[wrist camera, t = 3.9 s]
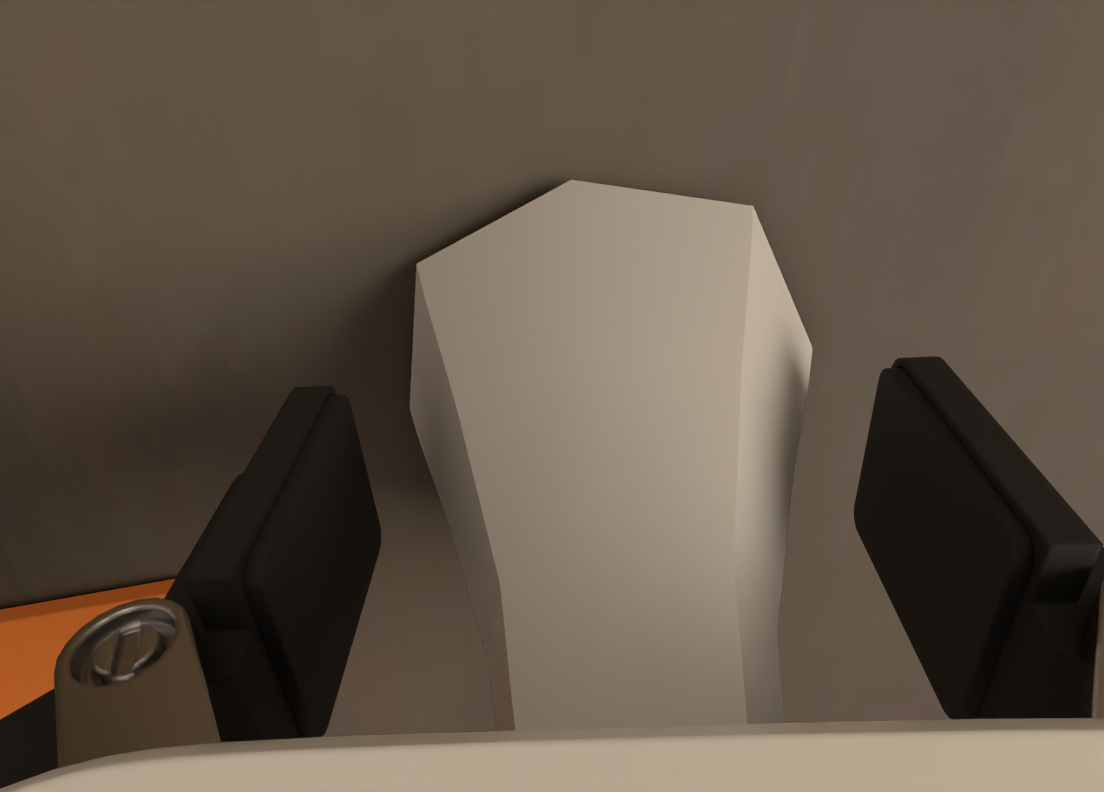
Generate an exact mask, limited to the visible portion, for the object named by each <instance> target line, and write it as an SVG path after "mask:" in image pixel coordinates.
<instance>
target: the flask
mask: <svg viewBox="0 0 1104 792" xmlns="http://www.w3.org/2000/svg"><path fill="white" fill-rule="evenodd" d="M811 358H812V346H811V343H810V341H809V338H808V336H807V334H806V331H805V329H804V326H803V324H802V322H801V319H800V317H799V315H798V312H797V310H796V307H795V305H794V303H793V300H792V298H791V295H790V293H789V291H788V288H787V286H786V283H785V281H784V279H783V276H782V274H781V272H780V269H779V267H778V264H777V262H776V260H775V257H774V255H773V252H772V250H771V248H770V245H769V243H768V240H767V238H766V236H765V233H764V231H763V228H762V226H761V224H760V221H759V219H758V217H757V214H756V212H755V209H754V207H753V206H750V205H743V204H736V203H729V202H722V201H715V200H708V199H701V198H694V197H687V196H680V195H673V194H667V193H660V192H653V191H646V190H639V189H632V188H625V187H618V186H611V185H604V184H597V183H590V182H583V181H576V180H570V181H568V182H566V183H564V184H562V185H561V186H559V187H557V188H555V189H553V190H551V191H550V192H548V193H546V194H544V195H542V196H540V197H539V198H537V199H535V200H533V201H531V202H529V203H527V204H526V205H524V206H522V207H520V208H518V209H516V210H515V211H513V212H511V213H509V214H507V215H505V216H504V217H502V218H500V219H498V220H496V221H494V222H492V223H491V224H489V225H487V226H485V227H483V228H481V229H480V230H478V231H476V232H474V233H472V234H470V235H469V236H467V237H465V238H463V239H461V240H459V241H457V242H456V243H454V244H452V245H450V246H448V247H446V248H445V249H443V250H441V251H439V252H437V253H435V254H434V255H432V256H430V257H428V258H426V259H424V260H422V261H421V262H419V263H417V264H416V285H415V306H414V327H413V349H412V370H411V391H410V411H411V415H412V418H413V422H414V425H415V429H416V432H417V436H418V439H419V441H420V444H421V447H422V450H423V453H424V456H425V458H426V461H427V464H428V467H429V470H430V473H431V475H432V478H433V481H434V484H435V487H436V490H437V492H438V495H439V498H440V501H441V504H442V507H443V509H444V512H445V515H446V518H447V521H448V524H449V528H450V531H451V535H452V538H453V542H454V545H455V548H456V552H457V555H458V559H459V562H460V566H461V569H462V573H463V576H464V580H465V583H466V587H467V590H468V593H469V597H470V600H471V604H472V607H473V611H474V614H475V618H476V621H477V625H478V628H479V631H480V635H481V638H482V642H483V645H484V649H485V652H486V656H487V659H488V663H489V671H490V681H491V691H492V700H493V710H494V719H495V729H496V731H514V730H547V729H582V728H618V727H653V726H691V725H729V724H767V723H784V714H783V702H782V689H781V676H780V663H779V650H778V638H777V626H778V616H779V607H780V597H781V588H782V578H783V569H784V560H785V550H786V541H787V531H788V522H789V512H790V503H791V493H792V484H793V474H794V468H795V462H796V456H797V450H798V444H799V438H800V432H801V426H802V420H803V414H804V408H805V402H806V396H807V390H808V383H809V376H810V367H811Z"/></svg>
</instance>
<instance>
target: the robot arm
mask: <svg viewBox="0 0 1104 792" xmlns="http://www.w3.org/2000/svg"><path fill="white" fill-rule="evenodd" d="M854 519H855V525H856V529H857V531H858V533H859V536H860V538H861V540H862V542H863V544H864V546H865V548H866V550H867V552H868V554H869V556H870V558H871V560H872V563H873V565H874V567H875V569H876V571H877V573H878V575H879V577H880V579H881V581H882V583H883V585H884V588H885V590H886V592H887V594H888V596H889V598H890V600H891V602H892V604H893V606H894V608H895V610H896V612H897V615H898V617H899V619H900V621H901V623H902V625H903V627H904V629H905V631H906V633H907V635H908V637H909V639H910V642H911V644H912V646H913V648H914V650H915V652H916V654H917V656H918V658H919V660H920V662H921V664H922V667H923V669H924V671H925V673H926V675H927V677H928V679H929V681H930V683H931V685H932V687H933V689H934V691H935V694H936V696H937V698H938V700H939V702H940V704H941V706H942V708H943V710H944V712H945V713H946V715H947V716H948V717H949V718H951V719H948V720H902V721H856V722H811V723H767V724H729V725H691V726H653V727H618V728H582V729H547V730H514V731H484V732H453V733H423V734H392V735H362V736H335V737H321V736H323V735H324V734H325V732H326V730H327V727H328V725H329V721H330V718H331V714H332V711H333V707H334V704H335V701H336V697H337V694H338V690H339V687H340V684H341V680H342V677H343V673H344V670H345V667H346V663H347V660H348V656H349V653H350V649H351V646H352V643H353V639H354V636H355V632H356V629H357V626H358V622H359V619H360V615H361V612H362V609H363V605H364V602H365V598H366V595H367V591H368V588H369V585H370V581H371V578H372V574H373V571H374V568H375V564H376V561H377V557H378V554H379V550H380V545H381V528H380V523H379V519H378V515H377V511H376V507H375V503H374V499H373V494H372V490H371V486H370V482H369V478H368V474H367V470H366V466H365V462H364V458H363V454H362V450H361V446H360V442H359V437H358V433H357V429H356V425H355V421H354V417H353V413H352V409H351V405H350V402H349V399H348V397H347V396H346V395H337V392H336V391H335V389H334V388H333V387H332V386H319V387H298V388H294V389H293V390H292V391H291V392H290V394H289V396H288V397H287V399H286V401H285V402H284V404H283V406H282V408H281V409H280V411H279V413H278V415H277V416H276V418H275V420H274V421H273V423H272V425H271V427H270V428H269V430H268V432H267V434H266V435H265V437H264V439H263V440H262V442H261V444H260V446H259V447H258V449H257V451H256V452H255V454H254V456H253V458H252V459H251V461H250V463H249V465H248V466H247V468H246V470H245V471H244V473H243V474H241V475H238V476H237V478H236V479H235V480H234V481H233V483H232V484H231V486H230V488H229V489H228V491H227V493H226V494H225V496H224V498H223V499H222V501H221V503H220V505H219V506H218V508H217V510H216V511H215V513H214V515H213V516H212V518H211V520H210V521H209V523H208V525H207V527H206V528H205V530H204V532H203V533H202V535H201V537H200V538H199V540H198V542H197V543H196V545H195V547H194V549H193V550H192V552H191V554H190V555H189V557H188V559H187V560H186V562H185V564H184V565H183V567H182V569H181V571H180V572H179V574H178V576H177V577H176V579H175V581H174V582H173V584H172V586H171V588H170V589H169V591H168V593H167V594H166V596H165V598H164V599H162V598H147V599H137V600H134V601H131V602H128V603H124V604H121V605H118V606H116V607H114V608H112V609H110V610H108V611H106V612H104V613H102V614H100V615H98V616H96V617H95V618H94V619H92V620H91V621H90V622H88V623H87V624H85V625H84V626H83V627H81V628H80V629H79V630H78V631H77V632H76V633H75V634H74V635H73V636H72V637H71V638H70V640H69V641H68V642H67V643H66V644H65V646H64V647H63V649H62V651H61V653H60V654H59V656H58V658H57V660H56V665H55V671H54V689H52V690H50V691H49V692H47V693H45V694H43V695H42V696H40V697H38V698H36V699H35V700H33V701H31V702H30V703H28V704H26V705H24V706H23V707H21V708H19V709H17V710H16V711H14V712H12V713H11V714H9V715H7V716H5V717H4V718H2V719H0V792H1104V548H1103V547H1102V546H1103V544H1102V543H1101V542H1100V540H1099V539H1098V538H1097V537H1096V536H1095V535H1094V533H1093V532H1092V531H1091V530H1090V529H1089V528H1088V527H1087V525H1086V524H1085V523H1084V522H1083V521H1082V520H1081V518H1080V517H1079V516H1078V515H1077V514H1076V513H1075V511H1074V510H1073V509H1072V508H1071V507H1070V506H1069V505H1068V503H1067V502H1066V501H1065V500H1064V499H1063V498H1062V496H1061V495H1060V494H1059V493H1058V492H1057V491H1056V489H1055V488H1054V487H1053V486H1052V485H1051V484H1050V483H1049V481H1048V480H1047V479H1046V478H1045V477H1044V476H1043V474H1042V473H1041V472H1040V471H1039V470H1038V469H1037V468H1036V466H1035V465H1034V464H1033V463H1032V462H1031V461H1030V459H1029V458H1028V457H1027V456H1026V455H1025V454H1024V452H1023V451H1022V450H1021V449H1020V448H1019V447H1018V446H1017V444H1016V443H1015V442H1014V441H1013V440H1012V439H1011V437H1010V436H1009V435H1008V434H1007V433H1006V432H1005V431H1004V429H1003V428H1002V427H1001V426H1000V425H999V424H998V422H997V421H996V420H995V419H994V418H993V417H992V415H991V414H990V413H989V412H988V411H987V410H986V409H985V407H984V406H983V405H982V404H981V403H980V402H979V400H978V399H977V398H976V397H975V396H974V395H973V394H972V392H971V391H970V390H969V389H968V388H967V387H966V385H965V384H964V383H963V382H962V381H961V380H960V378H959V377H958V376H957V375H956V374H955V373H954V372H953V370H952V369H951V368H950V367H949V366H948V365H947V363H946V362H945V361H944V360H943V359H942V358H940V357H914V358H898V359H897V360H895V362H894V364H893V365H892V368H885V369H884V370H882V372H881V374H880V377H879V381H878V387H877V392H876V397H875V402H874V407H873V412H872V418H871V423H870V428H869V433H868V438H867V444H866V449H865V454H864V459H863V464H862V469H861V475H860V480H859V485H858V490H857V495H856V501H855V506H854ZM313 737H315V738H313Z"/></svg>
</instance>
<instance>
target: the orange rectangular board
mask: <svg viewBox="0 0 1104 792" xmlns="http://www.w3.org/2000/svg"><path fill="white" fill-rule="evenodd" d="M174 581H175V579H171V580H165V581H159V582H154V583H148V584H142V585H137V586H131V587H125V588H120V589H114V590H109V591H103V592H97V593H92V594H86V595H80V596H75V597H69V598H63V599H58V600H52V601H46V602H41V603H35V604H30V605H24V606H18V607H13V608H7V609H1V610H0V719H2V718H4V717H5V716H7V715H9V714H11V713H12V712H14V711H16V710H17V709H19V708H21V707H23V706H24V705H26V704H28V703H30V702H31V701H33V700H35V699H36V698H38V697H40V696H42V695H43V694H45V693H47V692H49V691H50V690H52V689H54V671H55V665H56V660H57V658H58V656H59V654H60V653H61V651H62V649H63V647H64V646H65V644H66V643H67V642H68V641H69V640H70V638H71V637H72V636H73V635H74V634H75V633H76V632H77V631H78V630H79V629H80V628H81V627H83V626H84V625H85V624H87V623H88V622H90V621H91V620H92V619H94V618H95V617H96V616H98V615H100V614H102V613H104V612H106V611H108V610H110V609H112V608H114V607H116V606H118V605H121V604H124V603H128V602H131V601H134V600H137V599H147V598H162V599H164V598H165V596H166V594H167V593H168V591H169V589H170V588H171V586H172V584H173V582H174Z"/></svg>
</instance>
